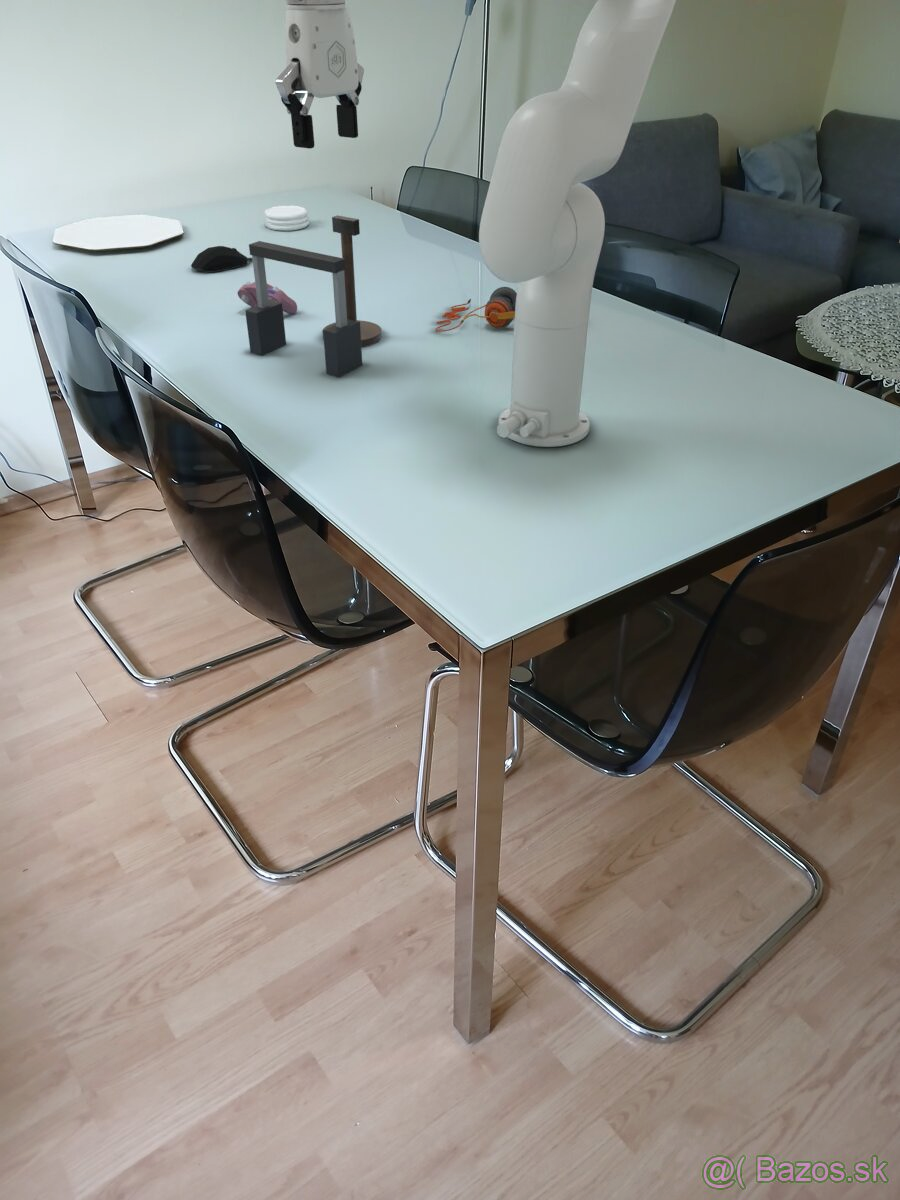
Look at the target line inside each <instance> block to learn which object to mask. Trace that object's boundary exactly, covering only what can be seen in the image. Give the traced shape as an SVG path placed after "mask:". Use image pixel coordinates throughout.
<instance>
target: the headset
mask: <svg viewBox="0 0 900 1200" xmlns="http://www.w3.org/2000/svg"><path fill="white" fill-rule="evenodd" d="M248 249H249V250H248V251H249V255H250V256H251V258H252V259H253V260H252V267H253V274H254V275H253V276H254V282H255V285H256V293H257V301H258V305H257V306H255V307H249V308H247V309H244V312H245V320H246V327H247V328H246V329H247V333H248V334H247V336H248V343H249V351H250V352H249V353H250V354H254V355H258V356H261V357H262V356H264V355H267V354H269V353H271V352H273V351H276V350H278V349H280V348H282V347H284V346H286V345H287V338H286V329H285V319H284V311H283V308H282V303H280V302H276V301H272V300H270V301H269V299H268V290H267V284H268V282H267V274H266V265H265V263H266V262H265V259H266V260H272V261H276V262H280V263H286V264H290V265H295V266H299V267H304V268H308V269H313V270H318V271H323V272H327V273H331V274H332V286H333V287H332V288H333V303H334V313H335V314H334V316H335V322H336V324H335V325H333V326H331V327H329V328H327V329H324V328H323V329H324V330H323V329H322V331H323V333H322V337H323V336H324V340H323V347H324V359H325V360H324V361H325V372H326V375H329V376H333V377H336V378H341V377H343V376H344V375H346V374H348V373H350V372H353V371H354V370H356V369H358V368H360V367H362V366H363V350H362V349H363V347H361V330H360V322H358V321H354V320H350V319H347V311H346V295H345V279H344V270H346V266H345V259H344V258H342V257H339V256H334V255H330V254H324V253H319V252H314V251H310V250H305V249H300V248H296V247H290V246H285V245H281V244H277V243H271V242H267V241H261V240H258V241H255V242H252V243H248Z"/></svg>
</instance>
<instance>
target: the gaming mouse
mask: <svg viewBox="0 0 900 1200" xmlns="http://www.w3.org/2000/svg"><path fill="white" fill-rule="evenodd" d="M248 262H253V259H252V257H247V256H246V255H244V254H243V253H241V252H240V251H238V250H237V248H236V247H228V246H224V245H216V246H211V247H207V248H206V249H204V250H203V251H200V252H199V253H198V254H197V255H196V256H195V258H194V259H193V261H192V263H191V264H190V267H191V268H192V269H193V270H195V271H199V272H204V273H215V272H216V273H217V272H222V271H227V270H231V269H236V268H241V267H245V266H246V265H248Z"/></svg>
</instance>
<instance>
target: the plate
mask: <svg viewBox="0 0 900 1200" xmlns="http://www.w3.org/2000/svg"><path fill="white" fill-rule="evenodd" d="M184 234H185V233H184V229H183V225H182V222H181V220H179V219H175V218H169V217H161V216H155V215H150V214H149V215H148V214H127V215H126V214H125V215H111V216H98V217H97V216H96V217H90V218H87V219H84V220H79V221H75V222H73V223H70V224H66V225H63V226H60V227H59V226H58V227H57V228H55V229H54V230H53V237H52V243H53V244H54V245H57V246H61V247H67V248H72V249H76V250H77V249H78V250H82V251H89V252H100V251H115V250H128V249H140V248H141V249H142V248H149V247H153V246H156V245H158V244H162V243H164V242H168V241H169V240H172V239H175V238H176V239H177V238H178V237H181V236H182V235H184Z"/></svg>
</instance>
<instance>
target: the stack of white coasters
mask: <svg viewBox="0 0 900 1200" xmlns="http://www.w3.org/2000/svg"><path fill="white" fill-rule="evenodd" d="M308 214H309V211H308V209H307V208H305V207H303V206H301V205H300V206H299V205H277V206H272V207H269V208H267V209H265V210H264V216H265V217H264V220H265V226H266V228H267V229H270V230H273V231H281V232H290V231H298V230H303V229H306V228H307V227H308V225H309V215H308Z"/></svg>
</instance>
